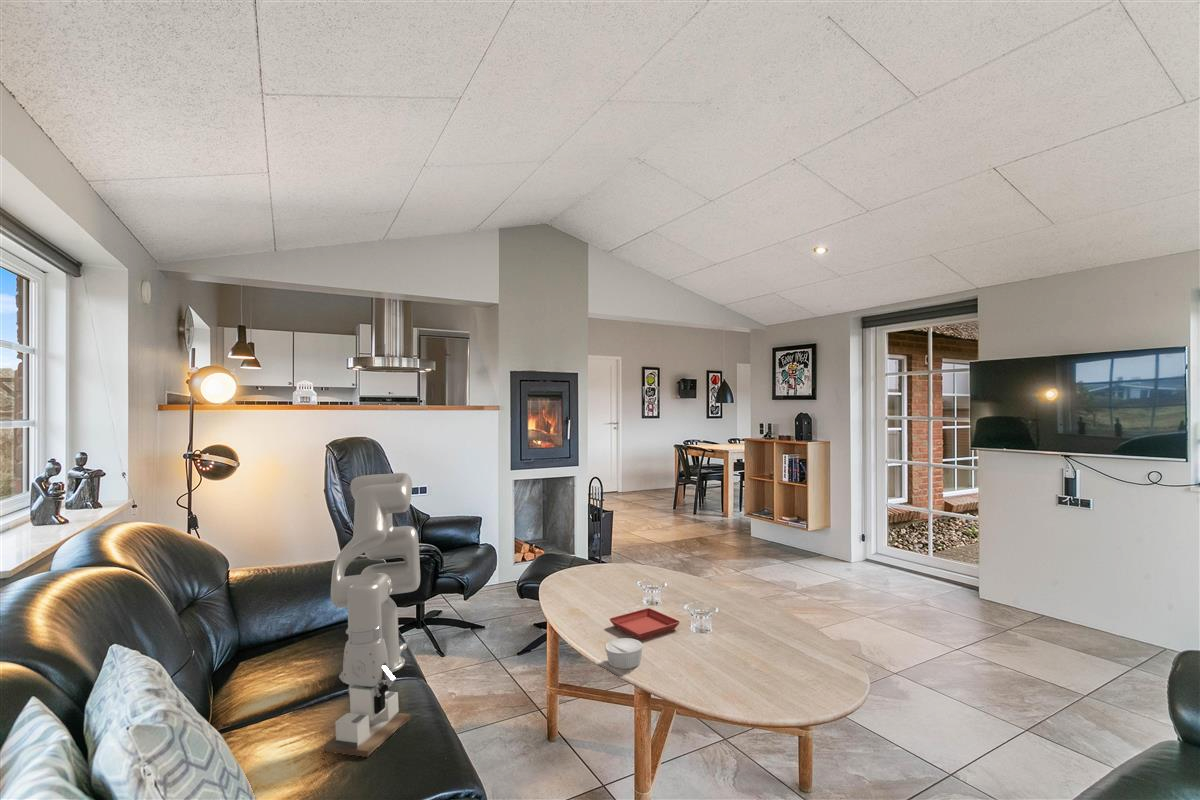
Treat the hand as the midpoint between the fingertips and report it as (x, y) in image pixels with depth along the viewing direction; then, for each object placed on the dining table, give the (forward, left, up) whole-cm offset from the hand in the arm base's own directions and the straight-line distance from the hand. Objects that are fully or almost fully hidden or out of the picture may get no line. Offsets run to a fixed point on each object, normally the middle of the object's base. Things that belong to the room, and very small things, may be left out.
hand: (368, 708), depth 138 cm
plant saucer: (-77, +52, -7) cm, 93 cm away
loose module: (0, 0, -1) cm, 1 cm away
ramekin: (-50, +51, -7) cm, 72 cm away
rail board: (0, 0, -6) cm, 6 cm away
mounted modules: (0, 0, -4) cm, 4 cm away
